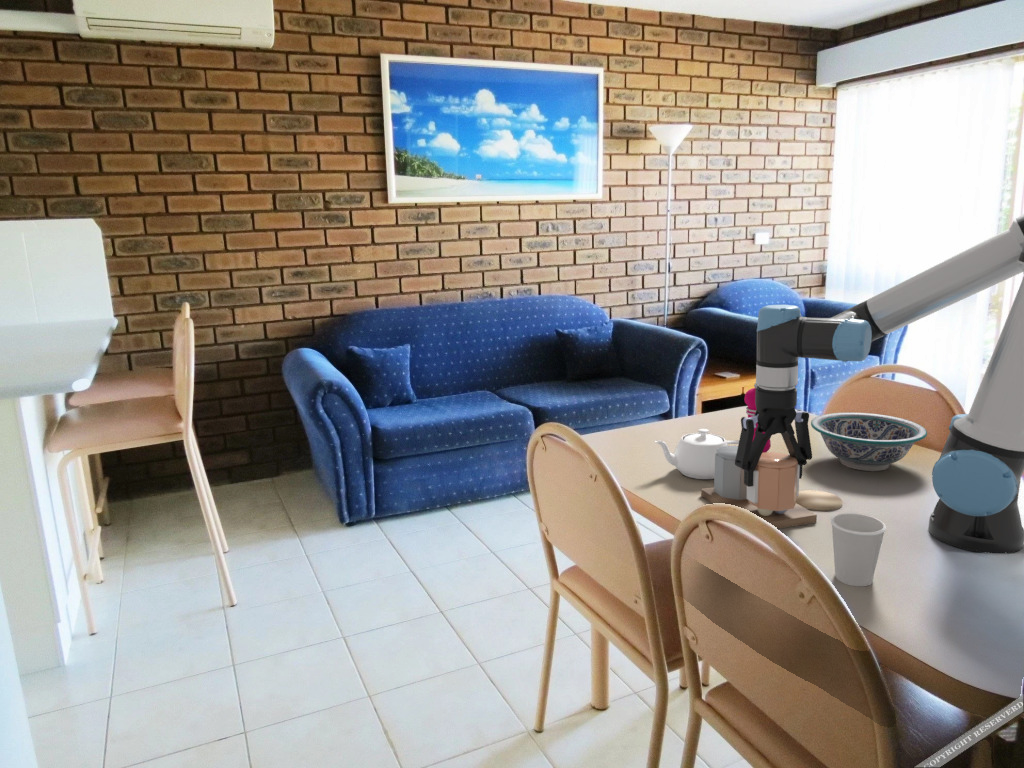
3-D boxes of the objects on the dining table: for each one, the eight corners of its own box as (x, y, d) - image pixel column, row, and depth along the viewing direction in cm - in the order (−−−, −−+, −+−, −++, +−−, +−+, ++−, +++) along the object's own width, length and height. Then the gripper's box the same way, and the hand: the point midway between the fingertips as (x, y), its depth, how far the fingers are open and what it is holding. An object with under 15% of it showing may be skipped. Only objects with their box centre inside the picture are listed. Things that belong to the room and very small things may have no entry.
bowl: (837, 484, 165) (840, 443, 163) (792, 449, 189) (794, 414, 187) (946, 480, 165) (951, 439, 163) (887, 446, 190) (890, 410, 188)
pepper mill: (765, 456, 185) (770, 378, 180) (773, 465, 178) (777, 385, 173) (736, 456, 185) (739, 378, 181) (742, 465, 178) (745, 385, 174)
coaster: (852, 507, 152) (853, 504, 152) (811, 513, 149) (811, 510, 149) (820, 490, 161) (820, 487, 161) (781, 496, 159) (781, 493, 159)
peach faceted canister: (804, 506, 143) (806, 462, 141) (766, 512, 141) (767, 468, 139) (777, 492, 151) (779, 450, 149) (741, 497, 149) (742, 455, 147)
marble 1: (776, 517, 144) (776, 503, 144) (762, 519, 143) (763, 505, 143) (767, 511, 147) (767, 497, 146) (753, 513, 146) (754, 499, 146)
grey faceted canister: (764, 496, 155) (766, 455, 153) (729, 501, 153) (730, 460, 151) (741, 482, 163) (743, 444, 161) (707, 487, 161) (709, 448, 159)
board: (816, 522, 145) (816, 514, 145) (754, 532, 142) (754, 524, 141) (757, 487, 164) (757, 481, 164) (700, 495, 160) (701, 489, 160)
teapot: (733, 461, 182) (735, 419, 179) (755, 480, 169) (757, 435, 166) (646, 466, 180) (646, 424, 178) (661, 486, 167) (662, 440, 165)
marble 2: (790, 515, 145) (791, 501, 144) (777, 517, 144) (778, 503, 144) (781, 509, 148) (782, 495, 147) (768, 511, 147) (769, 497, 146)
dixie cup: (848, 562, 129) (852, 508, 126) (892, 582, 121) (897, 525, 119) (815, 574, 125) (819, 519, 123) (858, 595, 118) (863, 537, 115)
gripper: (810, 377, 147) (806, 484, 152) (716, 387, 141) (714, 498, 146) (836, 384, 140) (831, 496, 145) (738, 396, 134) (735, 512, 139)
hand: (772, 497), depth 146 cm, fingers closed on peach faceted canister, 8 cm apart
